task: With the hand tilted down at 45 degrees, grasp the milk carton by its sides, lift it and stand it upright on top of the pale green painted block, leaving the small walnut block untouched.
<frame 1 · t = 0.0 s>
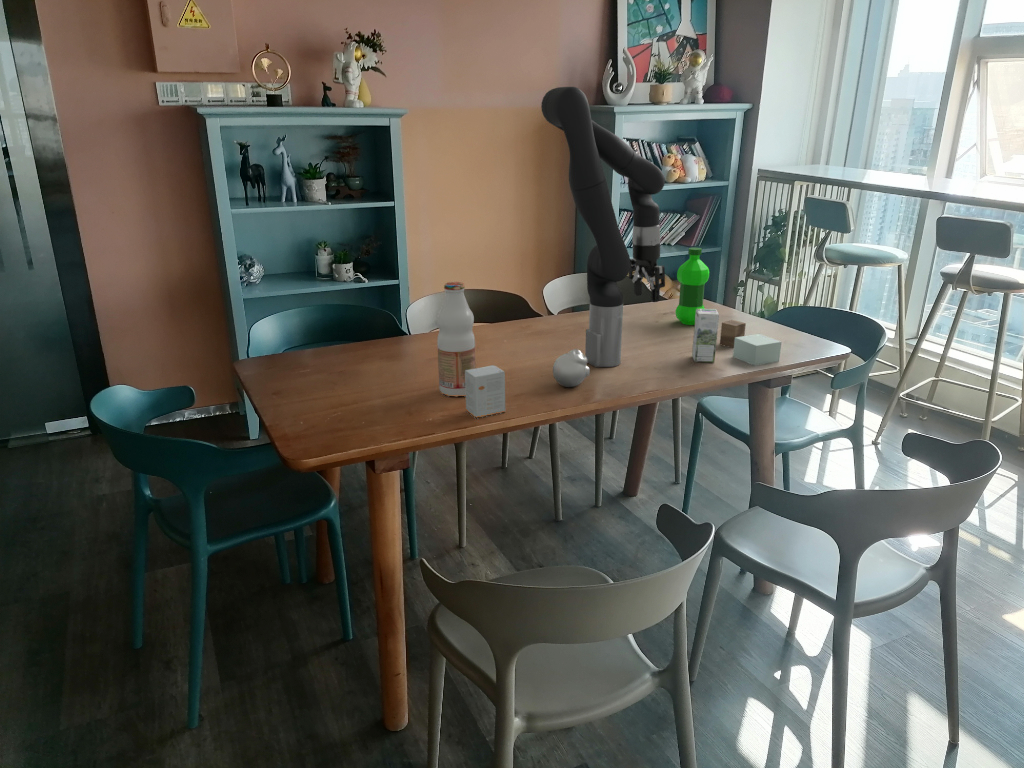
hand: (646, 298, 212), 17 cm above the table, tool pointing down, fingers open, 8 cm apart
plastic bottle: (689, 323, 252), on the table
walnut block: (731, 344, 228), on the table
green block: (755, 359, 215), on the table
small box: (485, 413, 178), on the table
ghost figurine: (570, 386, 195), on the table
milk carton: (703, 360, 215), on the table
fruit juice: (457, 392, 191), on the table
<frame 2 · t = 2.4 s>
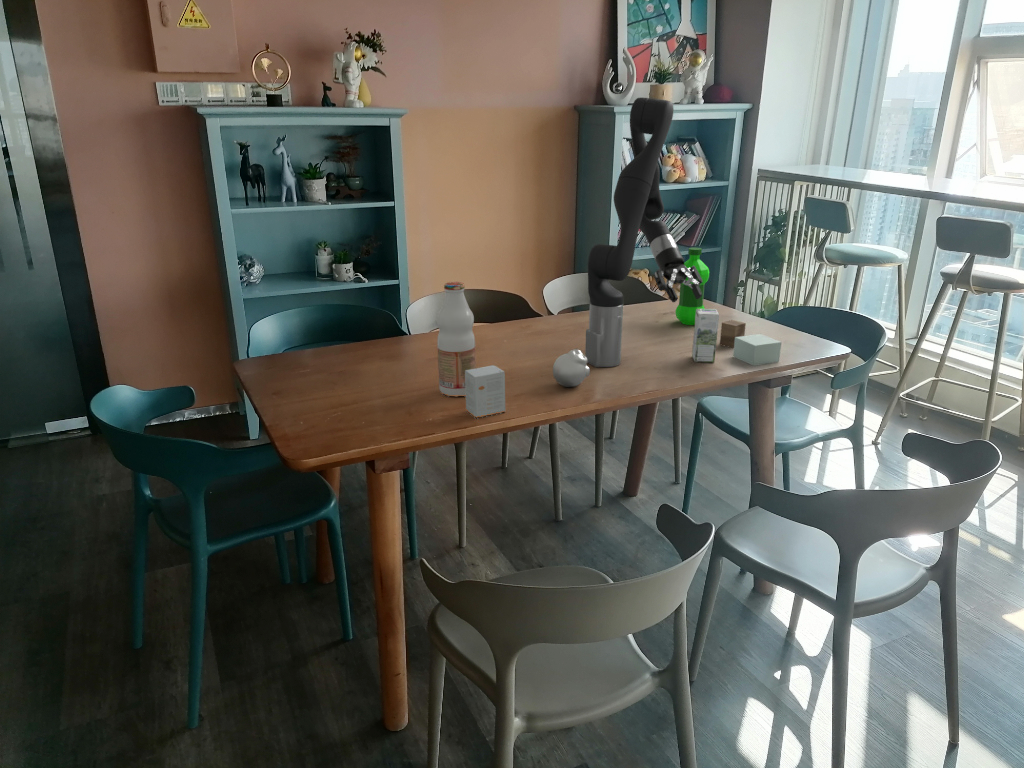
hand: (687, 299, 217), 16 cm above the table, tool tilted 45°, fingers open, 8 cm apart
nothing on the table moved.
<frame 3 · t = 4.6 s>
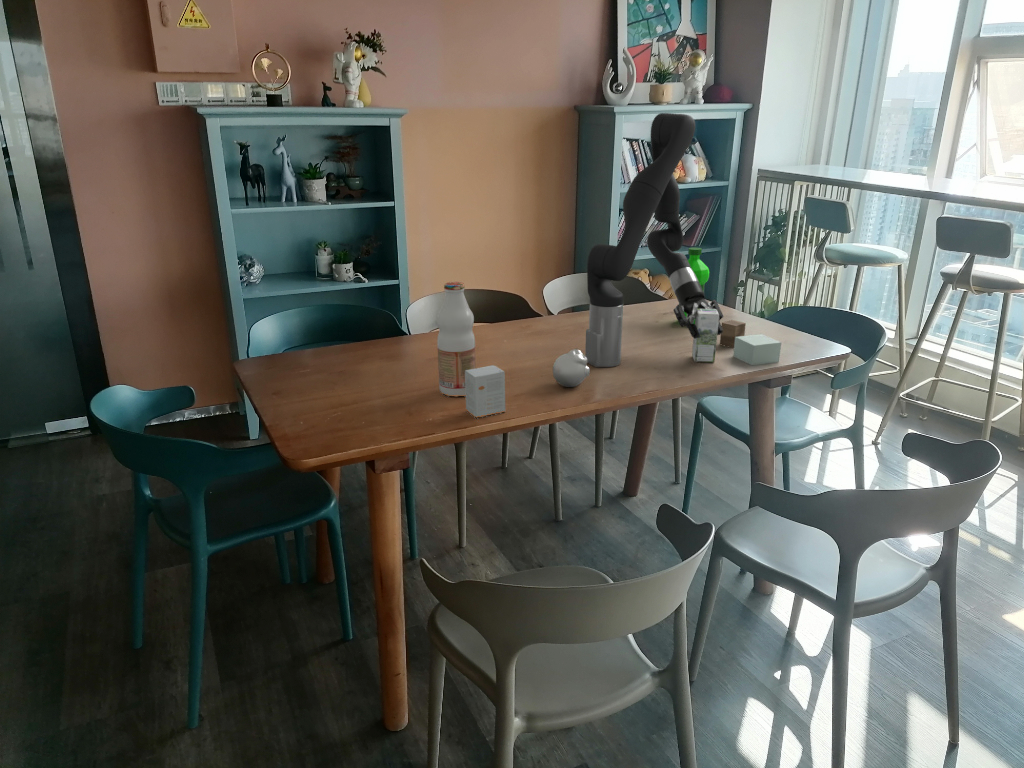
hand: (708, 335, 211), 8 cm above the table, tool tilted 45°, fingers closed on milk carton, 7 cm apart
milk carton: (703, 360, 215), on the table, touching gripper
everything else where it was.
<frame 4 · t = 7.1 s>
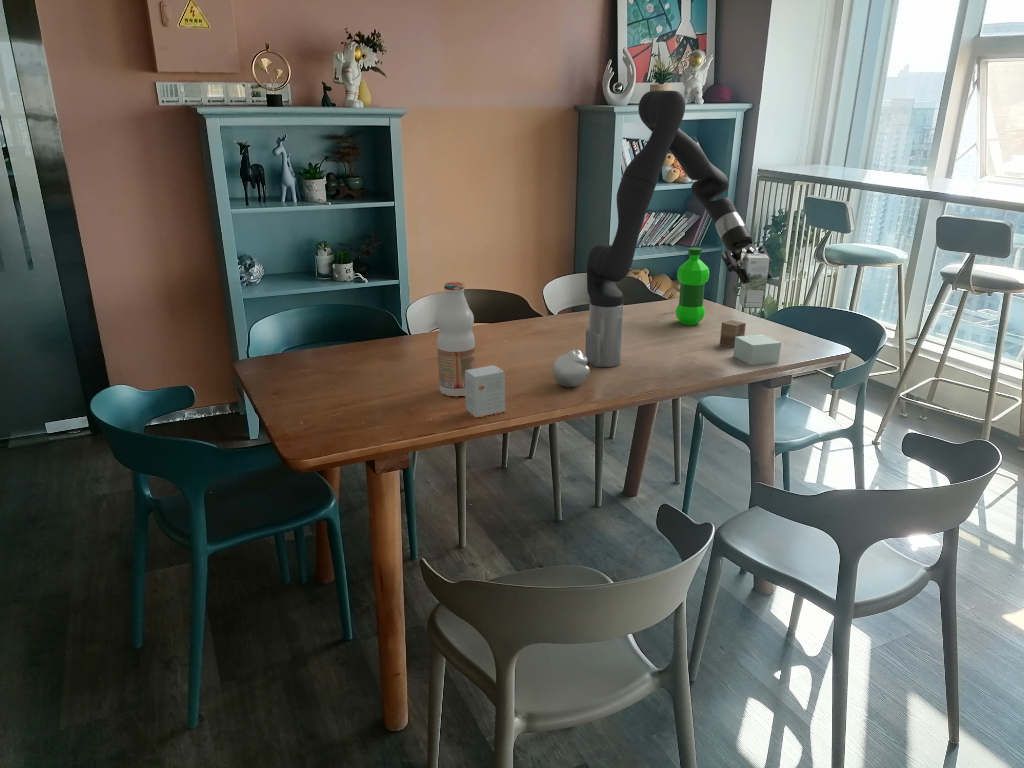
hand: (758, 280, 207), 23 cm above the table, tool tilted 45°, fingers closed on milk carton, 7 cm apart
milk carton: (751, 306, 211), point 15 cm above the table, touching gripper
everything else where it was.
when the fingers open (15 cm above the table, at t = 9.4 s): milk carton drops 1 cm, resting on green block.
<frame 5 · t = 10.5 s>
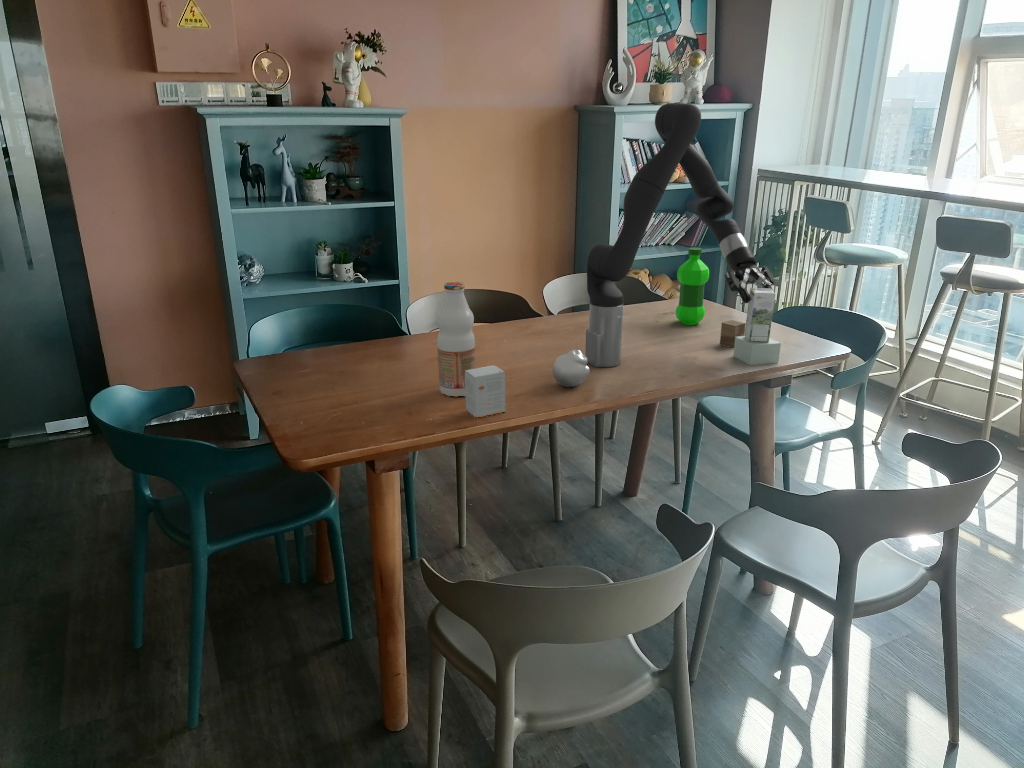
hand: (760, 300, 210), 17 cm above the table, tool tilted 45°, fingers open, 8 cm apart
green block: (755, 359, 215), on the table, touching milk carton
milk carton: (756, 340, 213), point 6 cm above the table, touching green block
everything else where it was.
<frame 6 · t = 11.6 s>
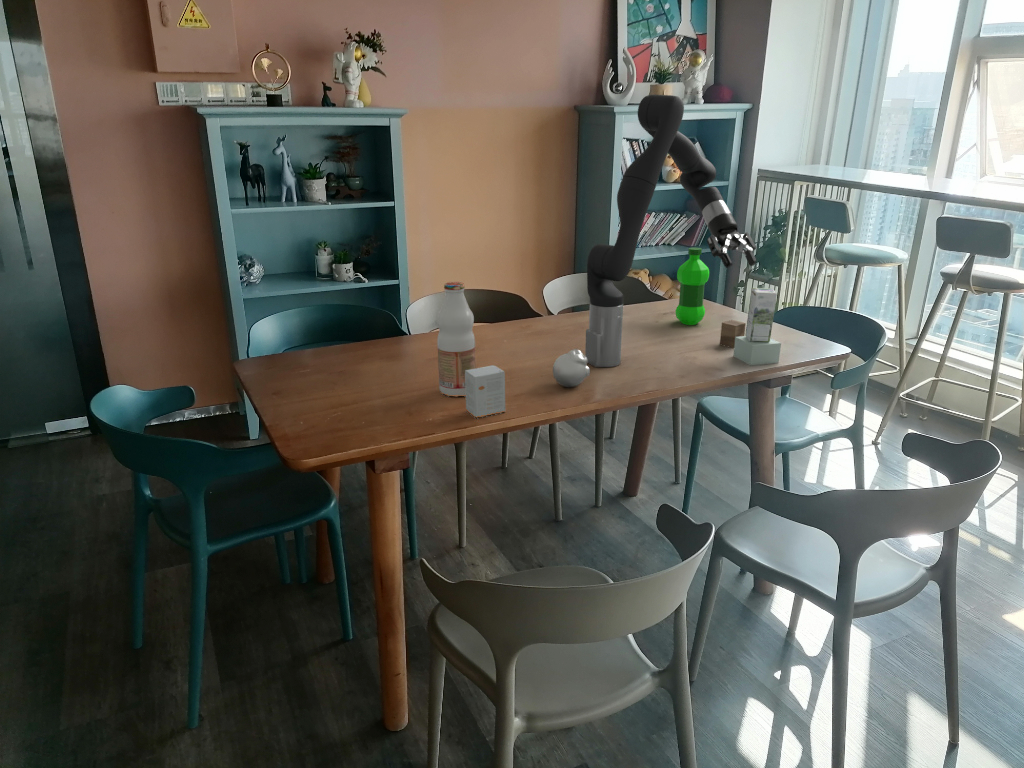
hand: (741, 265, 214), 26 cm above the table, tool tilted 45°, fingers open, 8 cm apart
nothing on the table moved.
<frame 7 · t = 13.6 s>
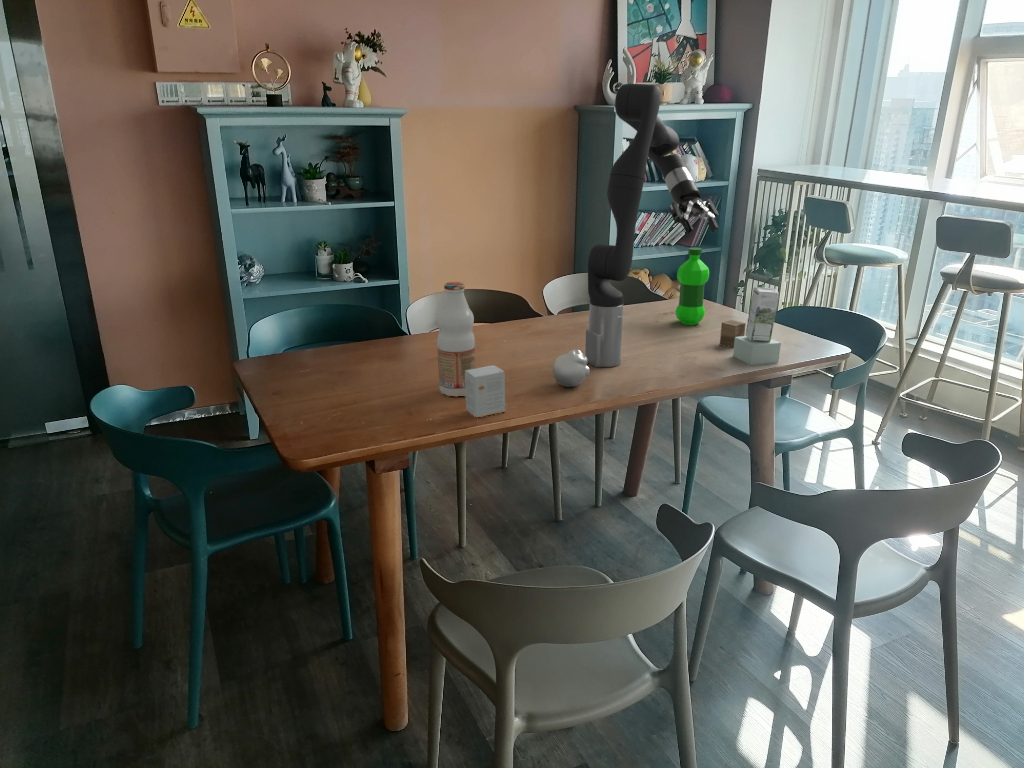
hand: (703, 231, 214), 35 cm above the table, tool tilted 45°, fingers open, 8 cm apart
nothing on the table moved.
at the end: milk carton 0.1 cm off-centre on the green block, point 6.0 cm above the green block's base; milk carton tilted 3°; the gripper is holding nothing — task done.
